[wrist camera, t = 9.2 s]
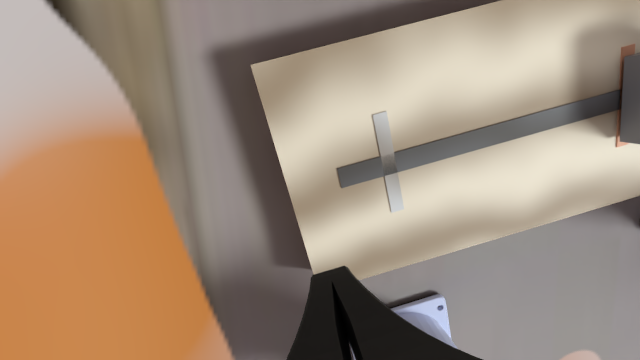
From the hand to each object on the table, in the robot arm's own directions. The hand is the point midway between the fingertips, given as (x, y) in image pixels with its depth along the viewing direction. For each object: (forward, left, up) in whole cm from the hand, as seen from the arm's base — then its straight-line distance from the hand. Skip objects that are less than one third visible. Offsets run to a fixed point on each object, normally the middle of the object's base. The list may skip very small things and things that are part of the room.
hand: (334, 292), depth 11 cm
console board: (+2, -12, -9) cm, 15 cm away
